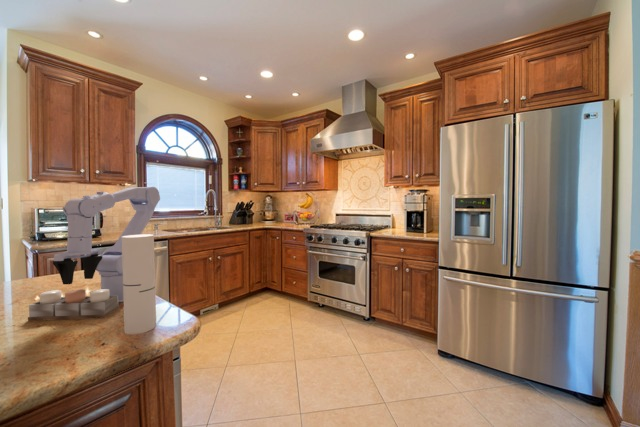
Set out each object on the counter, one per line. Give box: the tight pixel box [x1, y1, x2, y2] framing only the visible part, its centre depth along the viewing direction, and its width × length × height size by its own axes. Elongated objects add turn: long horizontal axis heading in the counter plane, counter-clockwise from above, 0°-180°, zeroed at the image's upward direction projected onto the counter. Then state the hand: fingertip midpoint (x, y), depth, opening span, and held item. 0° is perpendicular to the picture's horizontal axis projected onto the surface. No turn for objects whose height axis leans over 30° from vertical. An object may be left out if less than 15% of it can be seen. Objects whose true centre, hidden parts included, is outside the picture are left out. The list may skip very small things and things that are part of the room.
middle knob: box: [64, 289, 87, 303], centre depth 82 cm, size 5×5×4 cm
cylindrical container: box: [122, 233, 157, 335], centre depth 73 cm, size 7×7×25 cm
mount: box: [27, 295, 120, 322], centre depth 82 cm, size 21×7×4 cm, turn 94°
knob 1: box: [39, 289, 62, 304], centre depth 82 cm, size 5×5×4 cm
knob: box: [89, 288, 110, 303], centre depth 83 cm, size 5×5×4 cm
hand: (78, 281), depth 84 cm, fingers open, 7 cm apart
